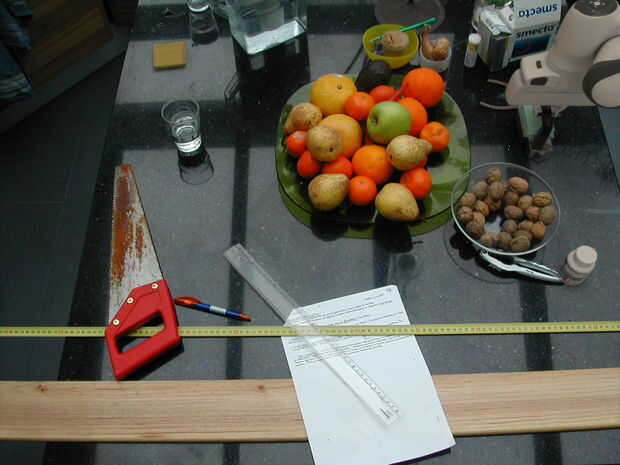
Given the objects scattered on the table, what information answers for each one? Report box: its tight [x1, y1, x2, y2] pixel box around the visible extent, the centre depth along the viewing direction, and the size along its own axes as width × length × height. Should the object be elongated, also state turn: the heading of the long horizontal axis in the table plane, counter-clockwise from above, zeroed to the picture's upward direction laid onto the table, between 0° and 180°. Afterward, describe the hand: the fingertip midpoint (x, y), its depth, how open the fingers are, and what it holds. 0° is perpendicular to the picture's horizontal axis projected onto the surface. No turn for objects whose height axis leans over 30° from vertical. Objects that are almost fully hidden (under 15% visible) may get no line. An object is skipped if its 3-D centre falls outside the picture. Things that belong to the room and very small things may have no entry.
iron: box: [513, 105, 556, 164], centre depth 131 cm, size 15×7×10 cm, turn 178°
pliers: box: [479, 79, 562, 118], centre depth 142 cm, size 10×1×20 cm
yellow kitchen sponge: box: [152, 40, 187, 69], centre depth 151 cm, size 9×9×2 cm
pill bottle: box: [557, 245, 598, 286], centre depth 113 cm, size 5×5×9 cm
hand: (543, 114), depth 129 cm, fingers closed on iron, 2 cm apart
